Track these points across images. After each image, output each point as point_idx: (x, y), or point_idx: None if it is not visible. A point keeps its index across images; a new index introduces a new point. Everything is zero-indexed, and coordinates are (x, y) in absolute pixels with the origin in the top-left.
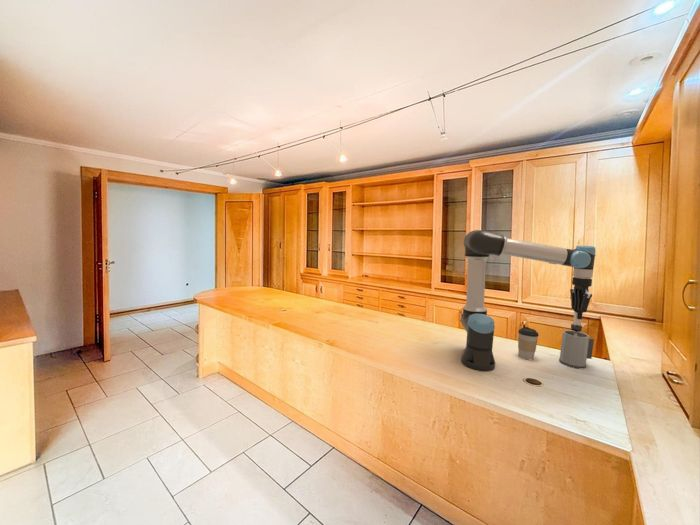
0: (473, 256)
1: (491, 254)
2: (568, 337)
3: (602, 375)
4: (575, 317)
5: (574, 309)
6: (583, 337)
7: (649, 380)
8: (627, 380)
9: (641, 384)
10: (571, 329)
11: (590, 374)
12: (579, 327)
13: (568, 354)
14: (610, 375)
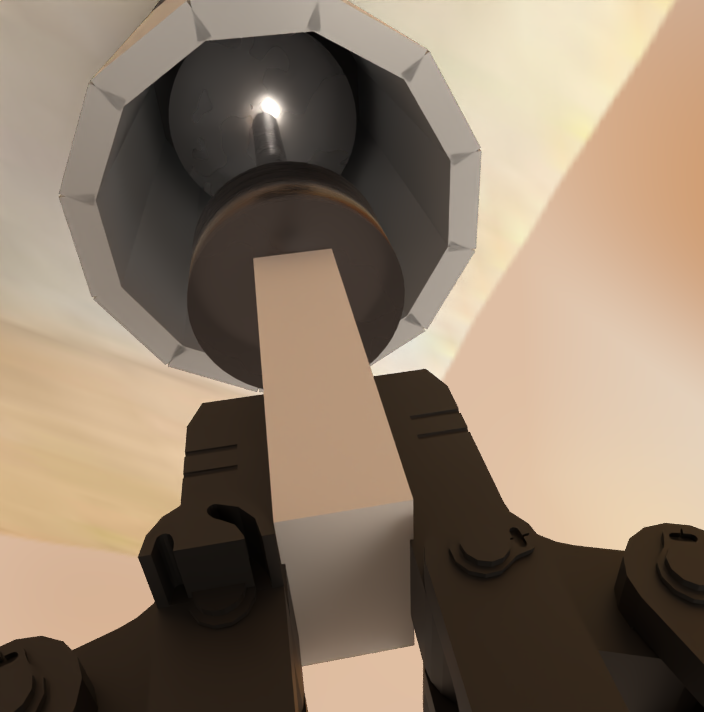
0: None
1: None
2: (146, 30)
3: (57, 258)
4: (275, 371)
5: (469, 569)
6: (86, 267)
7: (130, 515)
8: (47, 396)
9: (17, 449)
10: (271, 164)
11: (20, 156)
12: (190, 311)
13: (152, 14)
14: (94, 322)
